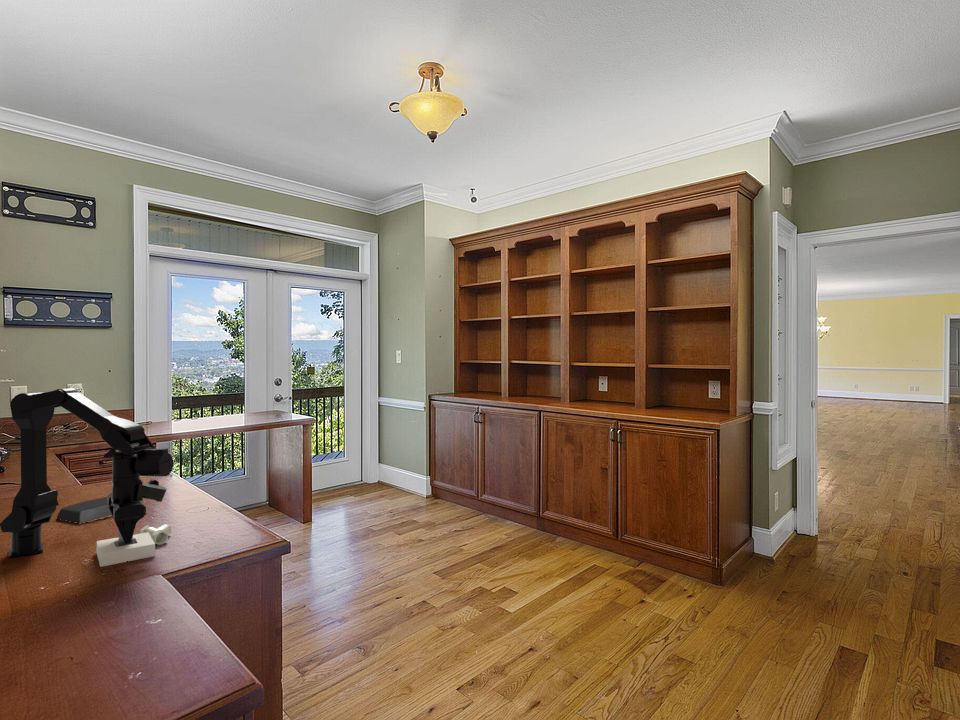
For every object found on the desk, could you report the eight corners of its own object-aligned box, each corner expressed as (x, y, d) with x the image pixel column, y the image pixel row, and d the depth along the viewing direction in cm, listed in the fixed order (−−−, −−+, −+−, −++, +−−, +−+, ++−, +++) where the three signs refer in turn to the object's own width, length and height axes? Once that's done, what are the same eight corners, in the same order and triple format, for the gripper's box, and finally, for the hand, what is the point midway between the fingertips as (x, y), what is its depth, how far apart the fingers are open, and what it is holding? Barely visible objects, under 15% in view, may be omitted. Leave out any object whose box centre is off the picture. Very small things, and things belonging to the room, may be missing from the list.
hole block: (96, 553, 132) (96, 541, 132) (148, 543, 139) (148, 532, 139) (100, 566, 123) (100, 554, 123) (155, 556, 130) (155, 543, 130)
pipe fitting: (165, 535, 147) (139, 540, 141) (166, 521, 147) (140, 525, 142) (180, 541, 143) (153, 547, 137) (181, 527, 143) (155, 531, 137)
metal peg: (117, 554, 131) (117, 513, 131) (131, 551, 133) (132, 511, 133) (118, 557, 129) (119, 516, 129) (133, 555, 131) (133, 514, 131)
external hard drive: (146, 509, 171) (146, 496, 171) (81, 526, 154) (81, 512, 154) (120, 504, 177) (120, 492, 177) (54, 520, 159) (54, 507, 159)
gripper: (170, 478, 129) (169, 542, 129) (157, 465, 143) (157, 523, 143) (115, 484, 122) (114, 552, 122) (107, 470, 136) (106, 531, 136)
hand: (125, 538), depth 131 cm, fingers open, 9 cm apart
